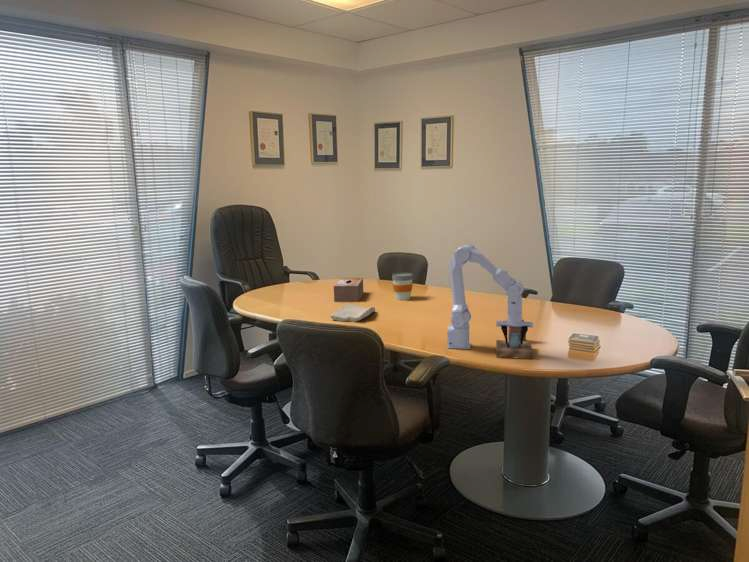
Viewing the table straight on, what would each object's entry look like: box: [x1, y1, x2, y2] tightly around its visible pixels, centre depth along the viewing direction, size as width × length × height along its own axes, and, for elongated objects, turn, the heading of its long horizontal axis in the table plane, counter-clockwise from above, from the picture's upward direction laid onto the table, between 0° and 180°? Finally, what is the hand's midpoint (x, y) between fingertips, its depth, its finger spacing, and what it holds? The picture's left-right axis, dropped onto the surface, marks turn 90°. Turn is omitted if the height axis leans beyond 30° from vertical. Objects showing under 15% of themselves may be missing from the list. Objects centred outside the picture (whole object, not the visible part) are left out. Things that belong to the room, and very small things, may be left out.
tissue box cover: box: [333, 277, 364, 303], centre depth 336 cm, size 26×14×10 cm, turn 174°
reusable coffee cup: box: [391, 272, 414, 301], centre depth 327 cm, size 13×13×15 cm
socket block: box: [495, 339, 534, 359], centre depth 223 cm, size 14×14×3 cm
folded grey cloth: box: [330, 303, 376, 323], centre depth 289 cm, size 24×8×20 cm
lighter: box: [507, 318, 527, 341], centre depth 238 cm, size 8×3×10 cm, turn 92°
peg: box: [509, 333, 519, 348], centre depth 222 cm, size 4×4×8 cm
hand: (513, 343), depth 223 cm, fingers open, 5 cm apart
